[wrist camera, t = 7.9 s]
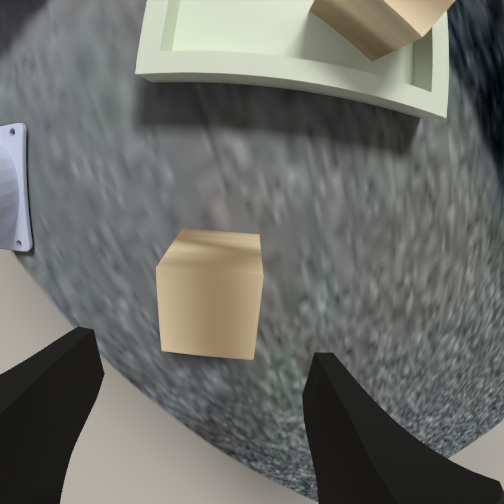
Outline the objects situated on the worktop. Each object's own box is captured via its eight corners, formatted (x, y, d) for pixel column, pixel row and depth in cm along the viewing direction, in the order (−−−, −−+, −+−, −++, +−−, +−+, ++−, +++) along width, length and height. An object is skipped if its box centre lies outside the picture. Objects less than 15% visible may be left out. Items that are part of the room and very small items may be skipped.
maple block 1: (182, 295, 17) (161, 350, 13) (182, 228, 16) (155, 267, 11) (252, 301, 17) (253, 359, 13) (259, 234, 16) (263, 277, 11)
